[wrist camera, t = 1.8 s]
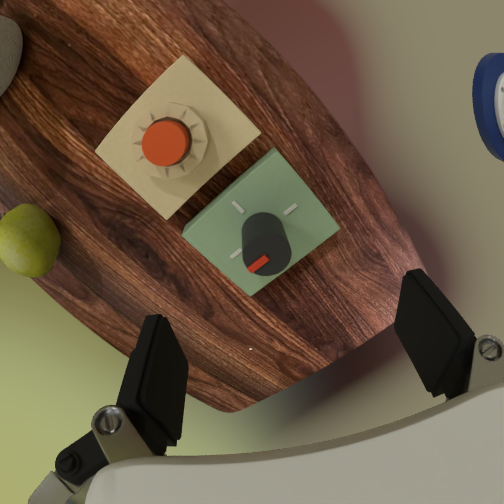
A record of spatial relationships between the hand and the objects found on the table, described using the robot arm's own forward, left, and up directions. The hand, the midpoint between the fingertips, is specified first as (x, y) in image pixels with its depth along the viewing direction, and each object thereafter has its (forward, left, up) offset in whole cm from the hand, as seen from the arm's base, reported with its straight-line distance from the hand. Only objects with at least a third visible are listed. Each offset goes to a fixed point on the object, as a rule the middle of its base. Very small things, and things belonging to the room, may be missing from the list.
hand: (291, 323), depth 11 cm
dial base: (+2, +3, -20) cm, 20 cm away
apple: (+21, -15, -20) cm, 33 cm away
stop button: (+2, -9, -16) cm, 18 cm away
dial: (+2, +3, -17) cm, 17 cm away
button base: (+2, -9, -20) cm, 22 cm away
